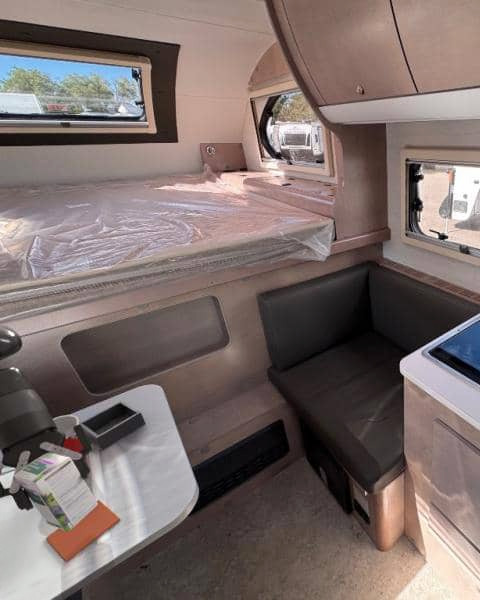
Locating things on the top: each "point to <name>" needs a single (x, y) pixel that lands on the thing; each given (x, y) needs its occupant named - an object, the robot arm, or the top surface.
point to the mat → (83, 532)
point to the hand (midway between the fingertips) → (59, 492)
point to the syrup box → (57, 490)
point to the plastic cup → (64, 425)
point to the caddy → (116, 431)
